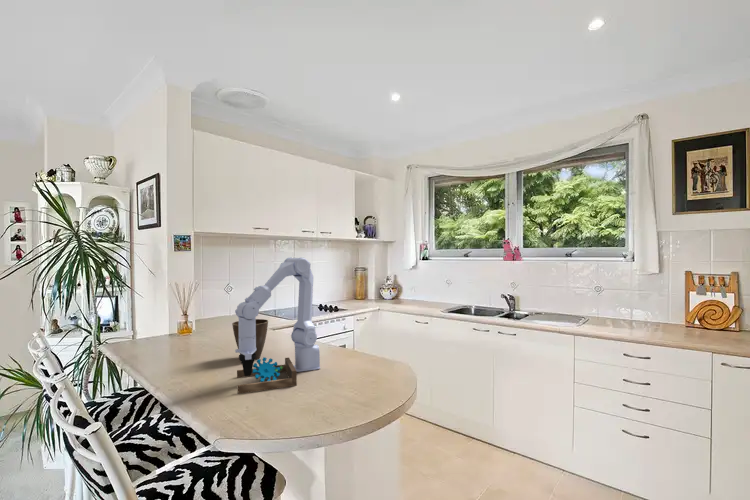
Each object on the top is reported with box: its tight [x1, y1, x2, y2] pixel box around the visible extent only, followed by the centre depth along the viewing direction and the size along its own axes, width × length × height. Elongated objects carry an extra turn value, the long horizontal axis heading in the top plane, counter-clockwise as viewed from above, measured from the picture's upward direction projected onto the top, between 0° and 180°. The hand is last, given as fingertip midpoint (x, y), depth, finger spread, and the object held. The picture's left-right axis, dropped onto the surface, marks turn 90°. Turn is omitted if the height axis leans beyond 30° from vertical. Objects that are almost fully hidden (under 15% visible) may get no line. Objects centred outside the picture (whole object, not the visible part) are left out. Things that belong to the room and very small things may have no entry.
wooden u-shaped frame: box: [236, 357, 298, 395], centre depth 131 cm, size 19×18×5 cm
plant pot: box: [232, 318, 269, 361], centre depth 160 cm, size 15×15×16 cm
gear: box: [252, 357, 283, 382], centre depth 132 cm, size 11×6×10 cm
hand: (247, 375), depth 128 cm, fingers closed
